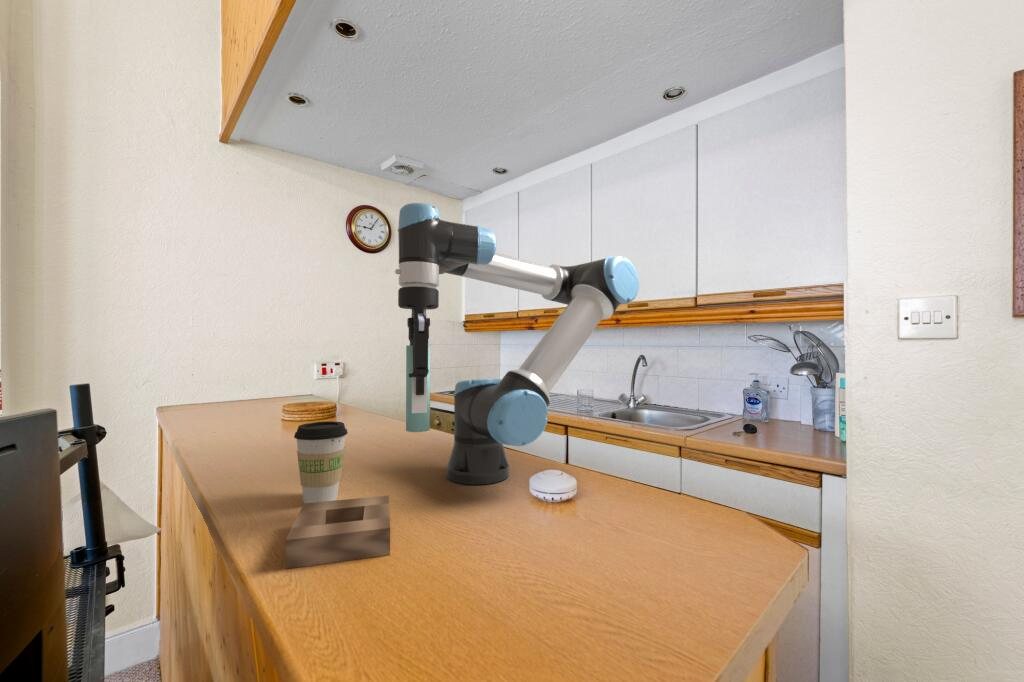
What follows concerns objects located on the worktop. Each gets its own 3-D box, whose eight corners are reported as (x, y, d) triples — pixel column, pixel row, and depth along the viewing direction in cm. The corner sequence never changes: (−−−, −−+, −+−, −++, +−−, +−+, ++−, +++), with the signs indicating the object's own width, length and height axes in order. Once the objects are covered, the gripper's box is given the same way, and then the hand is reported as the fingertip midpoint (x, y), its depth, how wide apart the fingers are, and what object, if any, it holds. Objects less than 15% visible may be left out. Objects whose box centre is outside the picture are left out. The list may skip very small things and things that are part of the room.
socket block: (388, 517, 75) (389, 495, 76) (389, 554, 62) (390, 527, 62) (303, 527, 71) (303, 503, 71) (285, 569, 58) (285, 540, 58)
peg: (428, 426, 82) (428, 345, 82) (430, 431, 78) (431, 345, 78) (405, 428, 81) (405, 345, 81) (406, 432, 76) (406, 345, 77)
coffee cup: (308, 513, 77) (309, 432, 77) (283, 501, 83) (285, 425, 83) (356, 498, 85) (357, 424, 85) (330, 488, 91) (331, 419, 91)
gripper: (396, 292, 87) (396, 405, 86) (400, 280, 70) (399, 419, 70) (433, 293, 89) (432, 403, 89) (444, 282, 72) (444, 417, 72)
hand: (418, 410), depth 79 cm, fingers closed on peg, 4 cm apart
